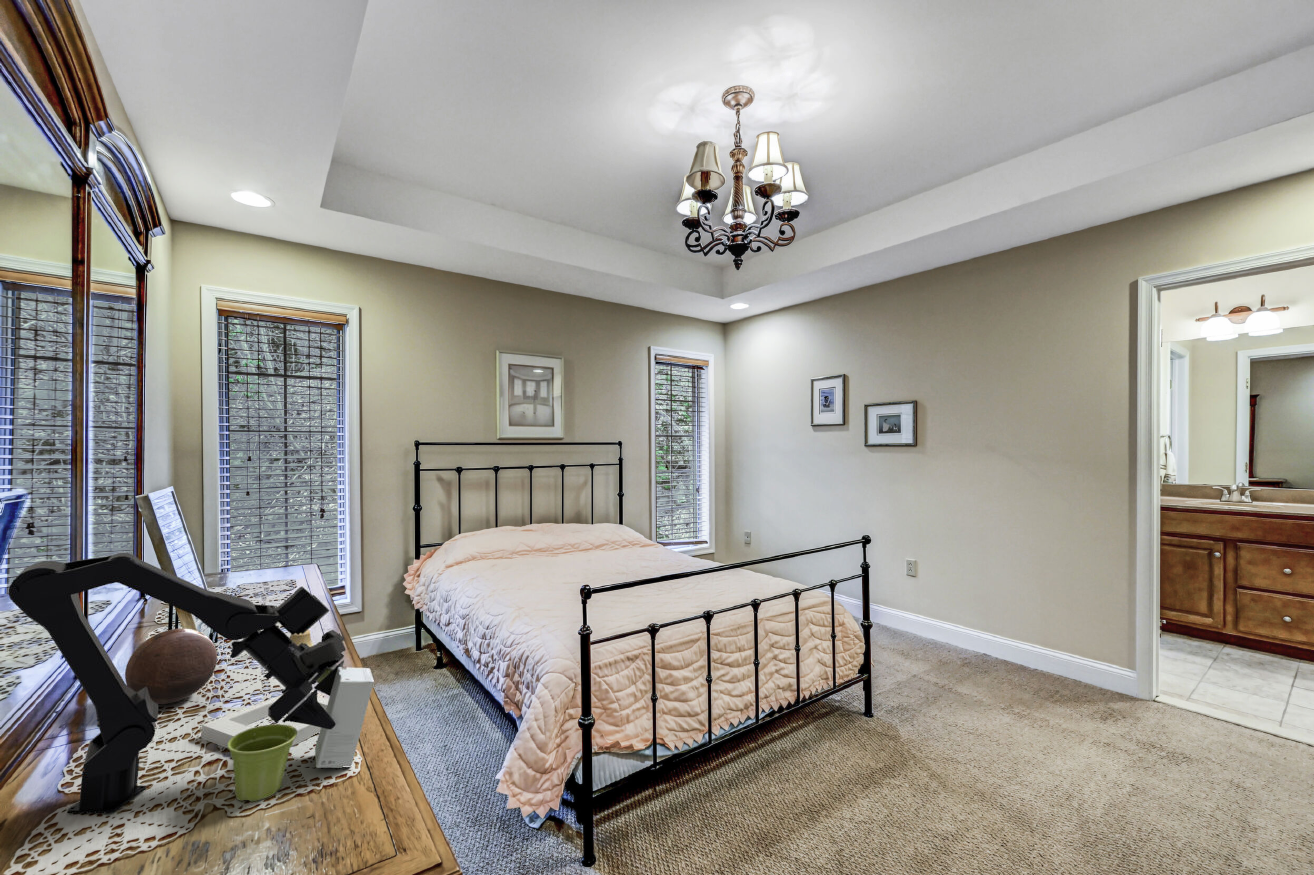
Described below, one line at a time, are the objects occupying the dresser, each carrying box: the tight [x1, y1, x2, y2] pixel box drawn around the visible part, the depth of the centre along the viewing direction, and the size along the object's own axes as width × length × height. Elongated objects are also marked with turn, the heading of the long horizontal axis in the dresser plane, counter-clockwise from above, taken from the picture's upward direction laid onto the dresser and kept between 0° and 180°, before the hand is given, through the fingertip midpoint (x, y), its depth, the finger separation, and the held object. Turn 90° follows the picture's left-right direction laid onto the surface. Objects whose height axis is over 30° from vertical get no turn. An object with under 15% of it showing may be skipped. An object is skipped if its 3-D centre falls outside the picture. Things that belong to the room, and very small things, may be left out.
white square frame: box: [200, 694, 329, 749], centre depth 113 cm, size 18×17×2 cm
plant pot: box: [227, 723, 297, 802], centre depth 93 cm, size 9×9×9 cm
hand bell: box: [289, 629, 315, 647], centre depth 154 cm, size 8×8×16 cm
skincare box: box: [314, 666, 375, 769], centre depth 104 cm, size 8×6×15 cm
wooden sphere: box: [124, 628, 218, 705], centre depth 122 cm, size 15×15×15 cm
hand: (343, 714), depth 104 cm, fingers closed on skincare box, 9 cm apart
